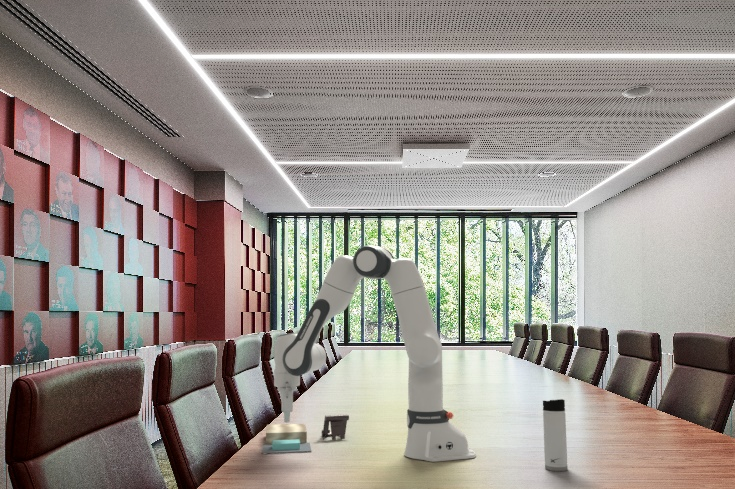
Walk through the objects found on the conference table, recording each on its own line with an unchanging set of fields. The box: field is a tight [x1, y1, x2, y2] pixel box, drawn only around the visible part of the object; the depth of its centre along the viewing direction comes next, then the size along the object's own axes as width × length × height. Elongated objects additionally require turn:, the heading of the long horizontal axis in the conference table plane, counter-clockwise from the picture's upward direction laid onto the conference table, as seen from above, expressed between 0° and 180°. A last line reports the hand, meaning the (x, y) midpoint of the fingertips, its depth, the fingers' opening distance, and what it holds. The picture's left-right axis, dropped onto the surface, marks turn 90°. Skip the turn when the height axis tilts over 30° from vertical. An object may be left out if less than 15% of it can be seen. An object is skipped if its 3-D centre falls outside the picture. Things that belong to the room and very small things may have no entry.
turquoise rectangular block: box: [272, 439, 300, 450], centre depth 206 cm, size 9×6×2 cm, turn 98°
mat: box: [261, 442, 312, 454], centre depth 207 cm, size 16×13×1 cm
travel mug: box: [542, 398, 569, 472], centre depth 179 cm, size 6×7×20 cm
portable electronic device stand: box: [321, 413, 350, 441], centre depth 225 cm, size 9×8×8 cm
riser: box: [265, 423, 308, 444], centre depth 221 cm, size 14×16×4 cm
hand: (286, 421), depth 210 cm, fingers closed
